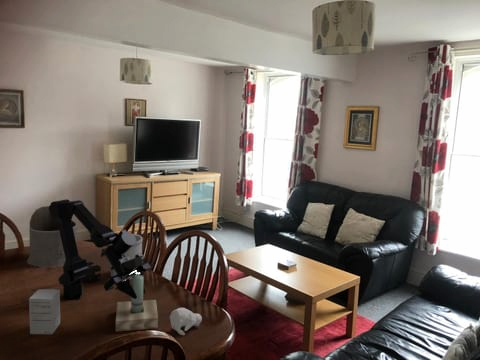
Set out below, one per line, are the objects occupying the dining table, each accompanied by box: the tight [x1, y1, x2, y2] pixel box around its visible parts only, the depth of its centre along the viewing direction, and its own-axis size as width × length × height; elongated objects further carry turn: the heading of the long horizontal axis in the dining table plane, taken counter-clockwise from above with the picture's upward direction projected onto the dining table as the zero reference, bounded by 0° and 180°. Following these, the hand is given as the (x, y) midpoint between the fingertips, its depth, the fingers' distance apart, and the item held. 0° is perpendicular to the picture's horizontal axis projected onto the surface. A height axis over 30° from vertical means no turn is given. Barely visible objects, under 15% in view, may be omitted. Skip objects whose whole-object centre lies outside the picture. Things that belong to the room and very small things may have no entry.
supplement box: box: [28, 288, 61, 335], centre depth 129 cm, size 7×7×13 cm
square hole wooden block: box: [115, 299, 159, 332], centre depth 138 cm, size 14×14×4 cm
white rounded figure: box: [169, 307, 203, 336], centre depth 134 cm, size 6×8×12 cm
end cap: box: [84, 261, 102, 283], centre depth 171 cm, size 10×7×7 cm
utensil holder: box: [109, 233, 143, 280], centre depth 177 cm, size 15×15×18 cm
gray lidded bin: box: [27, 205, 78, 268], centre depth 188 cm, size 23×32×25 cm
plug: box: [130, 275, 144, 313], centre depth 137 cm, size 4×4×14 cm
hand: (140, 296), depth 136 cm, fingers closed on plug, 4 cm apart
